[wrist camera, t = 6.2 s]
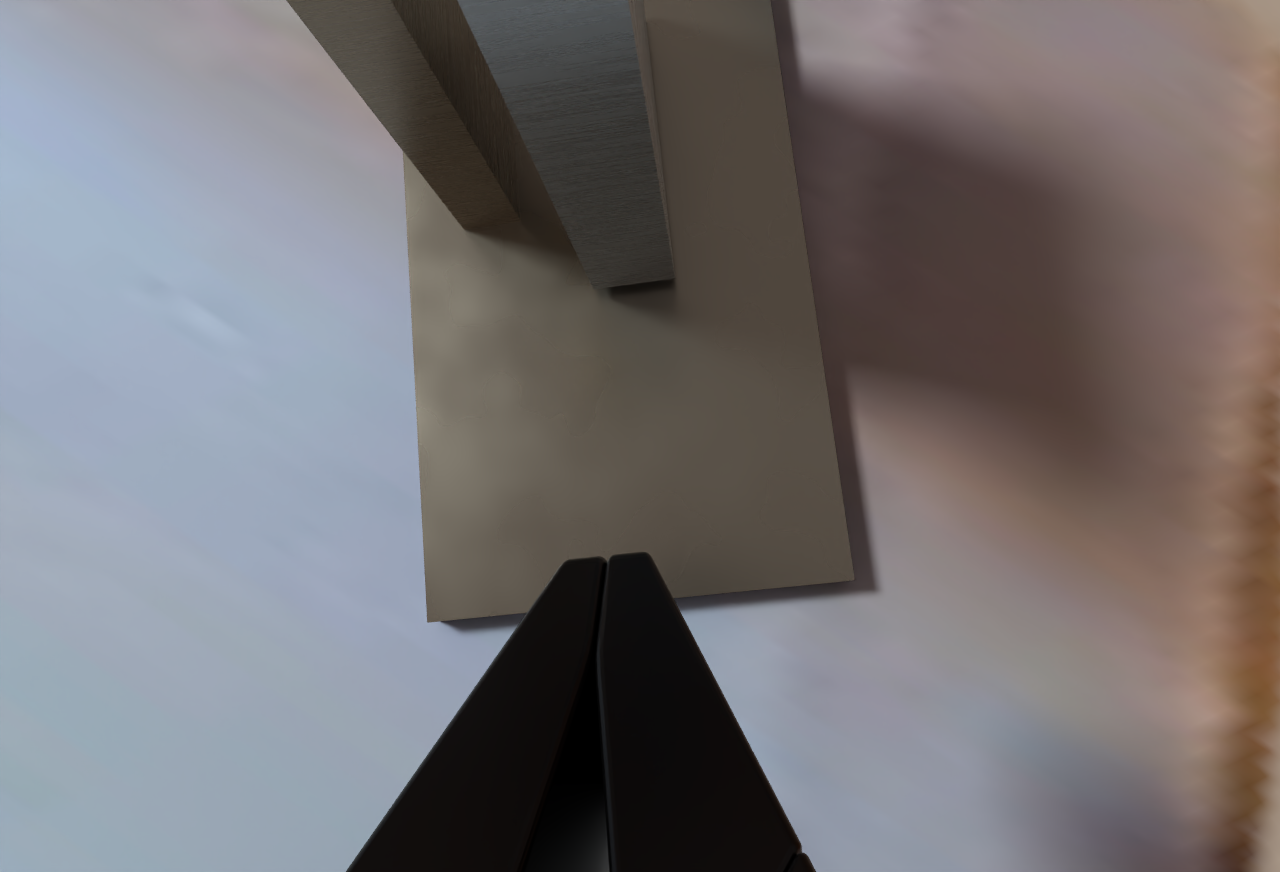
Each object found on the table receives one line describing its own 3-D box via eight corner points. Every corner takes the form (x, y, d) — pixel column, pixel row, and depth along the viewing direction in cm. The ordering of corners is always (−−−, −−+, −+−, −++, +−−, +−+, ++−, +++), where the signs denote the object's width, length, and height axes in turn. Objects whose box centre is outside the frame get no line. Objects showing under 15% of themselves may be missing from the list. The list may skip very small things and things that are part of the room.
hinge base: (850, 579, 15) (1361, 637, 3) (436, 620, 15) (-492, 799, 4) (759, -51, 17) (839, -1425, 5) (404, 10, 18) (-228, -1087, 6)
